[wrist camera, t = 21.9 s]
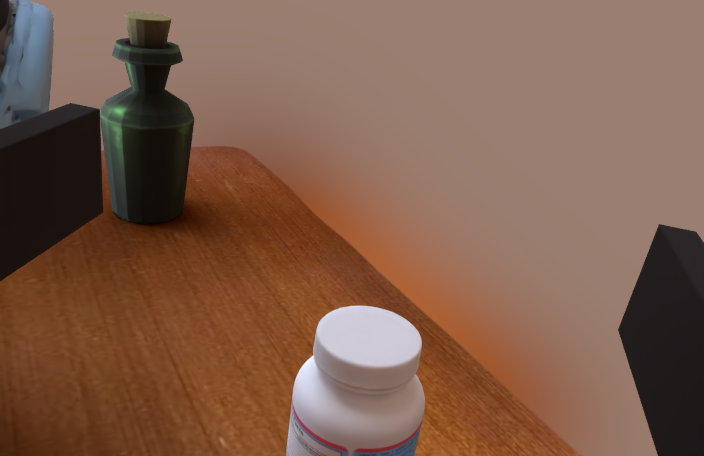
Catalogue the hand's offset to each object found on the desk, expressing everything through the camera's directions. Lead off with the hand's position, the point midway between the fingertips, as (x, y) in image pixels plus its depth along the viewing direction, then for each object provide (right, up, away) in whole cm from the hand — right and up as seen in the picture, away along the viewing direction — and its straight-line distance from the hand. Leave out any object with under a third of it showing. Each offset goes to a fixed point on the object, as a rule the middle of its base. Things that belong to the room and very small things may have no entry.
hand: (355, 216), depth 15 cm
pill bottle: (-1, -15, +17) cm, 23 cm away
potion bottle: (-20, +1, +46) cm, 50 cm away
